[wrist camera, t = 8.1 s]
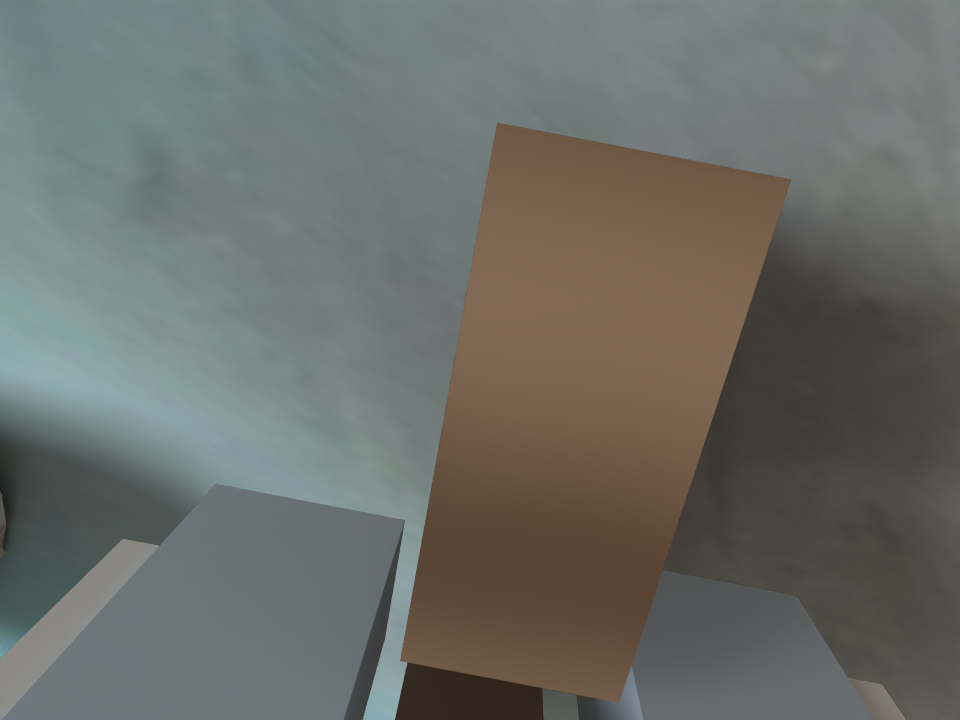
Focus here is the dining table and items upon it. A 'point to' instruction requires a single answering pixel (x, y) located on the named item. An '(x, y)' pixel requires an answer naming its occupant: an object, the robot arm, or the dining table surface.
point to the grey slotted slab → (362, 628)
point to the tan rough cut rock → (2, 525)
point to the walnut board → (575, 416)
